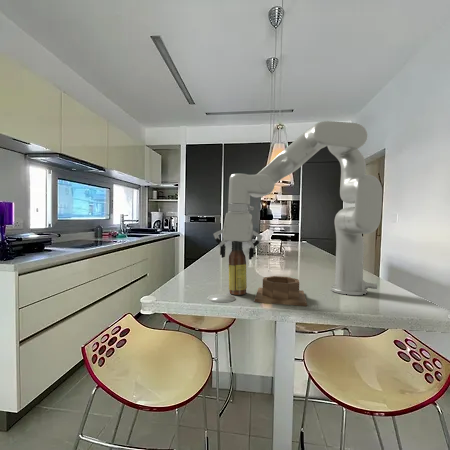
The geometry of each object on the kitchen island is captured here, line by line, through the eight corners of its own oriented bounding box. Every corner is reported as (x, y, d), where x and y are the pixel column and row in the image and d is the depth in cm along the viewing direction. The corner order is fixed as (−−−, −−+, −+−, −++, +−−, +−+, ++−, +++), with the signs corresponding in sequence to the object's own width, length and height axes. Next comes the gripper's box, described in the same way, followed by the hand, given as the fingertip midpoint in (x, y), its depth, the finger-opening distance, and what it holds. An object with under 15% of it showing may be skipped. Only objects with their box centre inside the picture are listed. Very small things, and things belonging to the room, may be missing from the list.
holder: (303, 293, 103) (303, 276, 103) (306, 306, 87) (307, 286, 87) (258, 290, 106) (259, 274, 106) (254, 302, 90) (254, 283, 90)
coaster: (236, 297, 97) (236, 294, 97) (232, 304, 88) (232, 302, 88) (211, 295, 99) (211, 293, 99) (204, 302, 90) (204, 300, 90)
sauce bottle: (248, 292, 102) (249, 237, 102) (243, 296, 97) (245, 238, 96) (231, 290, 105) (232, 236, 104) (225, 294, 99) (226, 237, 98)
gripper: (264, 210, 102) (262, 258, 102) (217, 209, 106) (215, 255, 106) (262, 209, 95) (260, 261, 95) (212, 208, 98) (210, 257, 98)
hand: (236, 258), depth 100 cm, fingers open, 9 cm apart
